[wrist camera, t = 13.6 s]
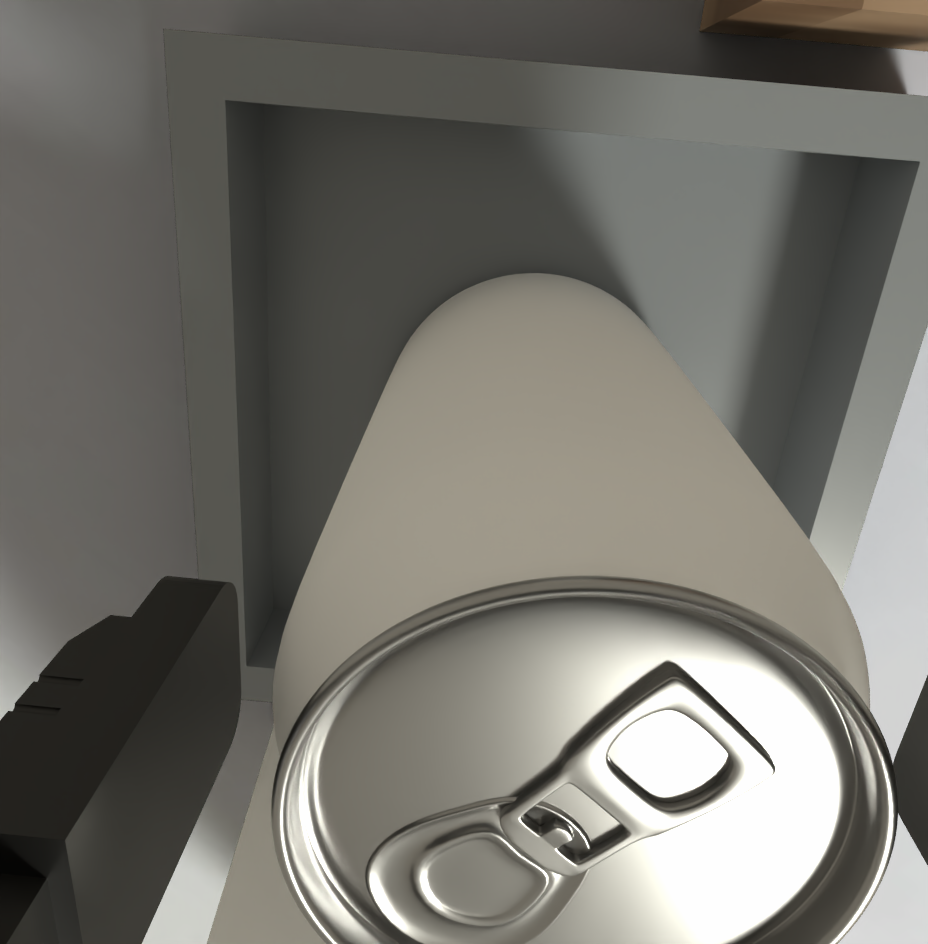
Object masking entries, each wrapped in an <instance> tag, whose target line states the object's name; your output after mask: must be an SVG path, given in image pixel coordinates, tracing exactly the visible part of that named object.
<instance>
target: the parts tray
mask: <svg viewBox="0 0 928 944" xmlns="http://www.w3.org/2000/svg"><path fill="white" fill-rule="evenodd" d="M163 33H164V48H165V64H166V80H167V95H168V111H169V127H170V142H171V158H172V173H173V189H174V205H175V220H176V236H177V251H178V267H179V283H180V298H181V314H182V330H183V345H184V361H185V376H186V392H187V408H188V423H189V439H190V454H191V470H192V486H193V501H194V517H195V533H196V548H197V564H198V579H202V580H212V581H222V582H231V583H233V584H234V586H235V588H236V592H237V598H238V618H239V643H240V668H241V700H250V701H261V702H272V703H273V701H272V696H273V680H274V672H275V666H276V661H277V656H278V652H279V648H280V643H281V639H282V635H283V632H284V628H285V625H286V622H287V619H288V616H289V614H290V611H291V608H292V606H293V603H294V600H295V597H296V595H297V592H298V589H299V587H300V584H301V582H302V579H303V577H304V574H305V572H306V570H307V567H308V565H309V562H310V560H311V558H312V555H313V553H314V550H315V548H316V545H317V543H318V541H319V538H320V536H321V534H322V531H323V529H324V527H325V524H326V522H327V520H328V517H329V515H330V513H331V510H332V508H333V506H334V503H335V501H336V499H337V496H338V494H339V491H340V489H341V487H342V484H343V482H344V480H345V477H346V475H347V473H348V471H349V468H350V466H351V464H352V461H353V459H354V457H355V454H356V452H357V450H358V447H359V445H360V443H361V440H362V438H363V436H364V434H365V431H366V429H367V427H368V424H369V422H370V420H371V418H372V415H373V413H374V411H375V409H376V406H377V404H378V402H379V399H380V397H381V395H382V393H383V390H384V388H385V386H386V384H387V382H388V379H389V377H390V375H391V373H392V371H393V368H394V366H395V364H396V362H397V360H398V358H399V356H400V354H401V352H402V351H403V349H404V347H405V345H406V344H407V342H408V340H409V339H410V338H411V336H412V335H413V333H414V332H415V331H416V329H417V328H418V327H419V326H420V325H421V323H422V322H423V321H424V320H425V319H426V318H427V317H428V316H429V315H430V314H431V313H432V312H433V311H434V310H436V309H437V308H438V307H439V306H440V305H442V304H443V303H444V302H446V301H447V300H448V299H450V298H451V297H453V296H455V295H456V294H458V293H460V292H461V291H463V290H465V289H467V288H469V287H471V286H474V285H476V284H479V283H481V282H484V281H487V280H490V279H494V278H497V277H502V276H507V275H513V274H523V273H544V274H554V275H560V276H565V277H570V278H574V279H577V280H580V281H583V282H586V283H588V284H591V285H593V286H595V287H597V288H600V289H601V290H603V291H605V292H607V293H609V294H610V295H612V296H613V297H615V298H616V299H618V300H619V301H621V302H622V303H623V304H625V305H626V306H627V307H628V308H630V309H631V310H632V311H633V312H634V313H635V314H636V315H637V316H638V317H639V318H640V319H641V320H642V321H643V322H644V323H645V324H646V326H647V327H648V328H649V329H650V330H651V331H652V333H653V334H654V335H655V336H656V338H657V339H658V340H659V341H660V343H661V344H662V345H663V346H664V348H665V349H666V350H667V352H668V353H669V354H670V355H671V357H672V358H673V359H674V361H675V362H676V363H677V364H678V366H679V367H680V368H681V370H682V371H683V372H684V374H685V375H686V376H687V377H688V379H689V380H690V381H691V383H692V384H693V385H694V387H695V388H696V389H697V391H698V392H699V393H700V394H701V396H702V397H703V398H704V400H705V401H706V402H707V404H708V405H709V406H710V408H711V409H712V410H713V411H714V413H715V414H716V415H717V417H718V418H719V419H720V421H721V422H722V423H723V425H724V426H725V427H726V429H727V430H728V431H729V433H730V434H731V435H732V437H733V438H734V439H735V440H736V442H737V443H738V444H739V446H740V447H741V448H742V450H743V451H744V452H745V454H746V455H747V456H748V458H749V459H750V460H751V462H752V463H753V464H754V466H755V467H756V468H757V470H758V471H759V472H760V474H761V475H762V476H763V478H764V479H765V480H766V482H767V483H768V484H769V486H770V487H771V488H772V490H773V491H774V492H775V494H776V495H777V496H778V498H779V499H780V501H781V502H782V503H783V505H784V506H785V507H786V509H787V510H788V511H789V513H790V514H791V516H792V517H793V518H794V520H795V521H796V522H797V524H798V525H799V526H800V528H801V529H802V531H803V532H804V533H805V535H806V536H807V538H808V539H809V541H810V542H811V544H812V545H813V547H814V548H815V549H816V551H817V552H818V554H819V555H820V557H821V558H822V560H823V561H824V563H825V564H826V566H827V567H828V569H829V570H830V572H831V573H832V575H833V577H834V579H835V580H836V582H837V584H838V586H839V588H840V590H841V592H842V589H843V586H844V583H845V580H846V577H847V574H848V571H849V567H850V564H851V561H852V558H853V555H854V552H855V549H856V546H857V543H858V539H859V536H860V533H861V530H862V527H863V524H864V521H865V518H866V515H867V512H868V508H869V505H870V502H871V499H872V496H873V493H874V490H875V487H876V484H877V480H878V477H879V474H880V471H881V468H882V465H883V462H884V459H885V456H886V452H887V449H888V446H889V443H890V440H891V437H892V434H893V431H894V428H895V425H896V421H897V418H898V415H899V412H900V409H901V406H902V403H903V400H904V397H905V393H906V390H907V387H908V384H909V381H910V378H911V375H912V372H913V369H914V366H915V362H916V359H917V356H918V353H919V350H920V347H921V344H922V341H923V338H924V334H925V331H926V328H927V325H928V96H919V95H908V94H896V93H885V92H874V91H862V90H851V89H840V88H828V87H817V86H806V85H794V84H783V83H772V82H760V81H749V80H738V79H726V78H715V77H704V76H692V75H681V74H670V73H658V72H647V71H636V70H624V69H613V68H602V67H590V66H579V65H568V64H556V63H545V62H534V61H522V60H511V59H500V58H488V57H477V56H466V55H454V54H443V53H432V52H420V51H409V50H398V49H386V48H375V47H364V46H352V45H341V44H330V43H318V42H307V41H296V40H284V39H273V38H262V37H250V36H239V35H228V34H216V33H205V32H194V31H182V30H171V29H163Z"/></svg>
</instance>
